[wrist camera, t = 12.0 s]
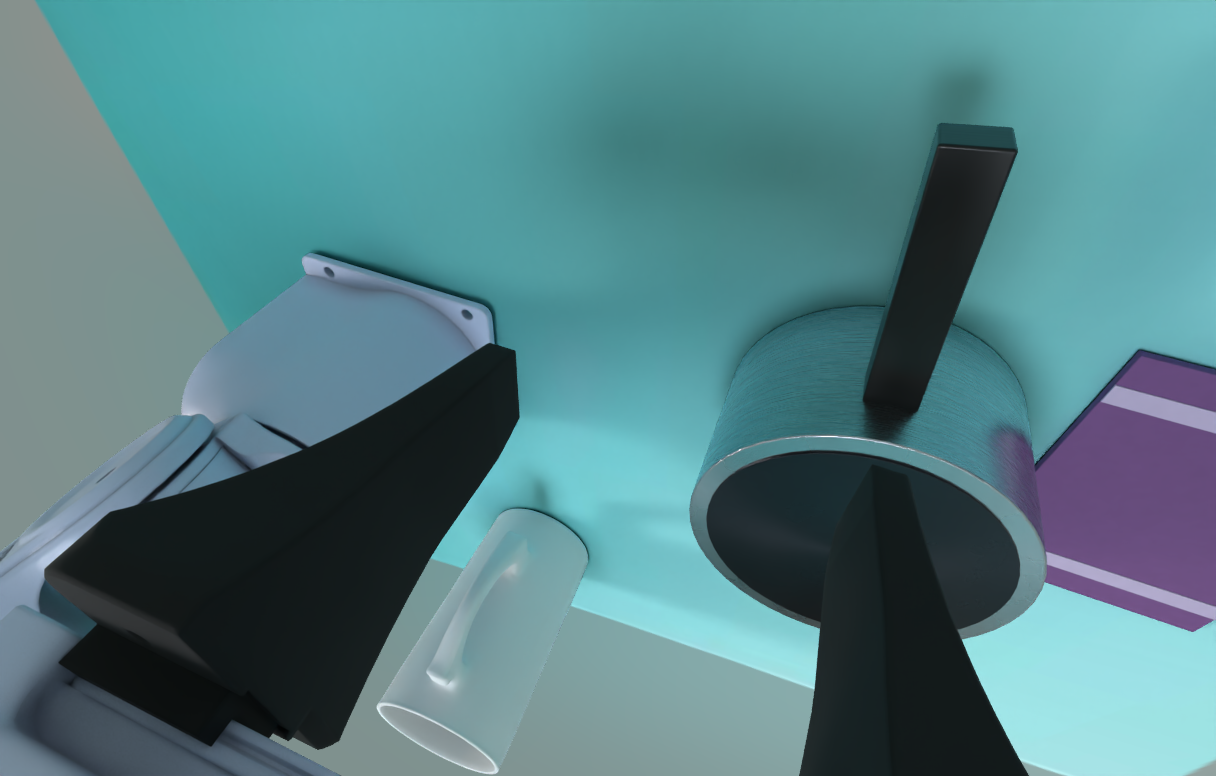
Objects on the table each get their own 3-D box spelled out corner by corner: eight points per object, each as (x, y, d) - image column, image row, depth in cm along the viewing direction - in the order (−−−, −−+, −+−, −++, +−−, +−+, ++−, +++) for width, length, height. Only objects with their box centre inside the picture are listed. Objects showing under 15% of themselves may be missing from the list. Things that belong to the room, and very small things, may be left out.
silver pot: (723, 472, 28) (685, 589, 24) (761, 63, 16) (701, 155, 12) (970, 533, 25) (975, 679, 21) (1229, 82, 13) (1352, 212, 9)
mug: (590, 586, 40) (501, 786, 32) (497, 548, 41) (389, 732, 33) (600, 497, 33) (489, 727, 25) (487, 455, 34) (347, 660, 26)
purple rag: (960, 547, 26) (960, 554, 25) (1138, 349, 18) (1141, 357, 18) (1191, 625, 24) (1193, 633, 24) (1504, 442, 16) (1511, 452, 16)
